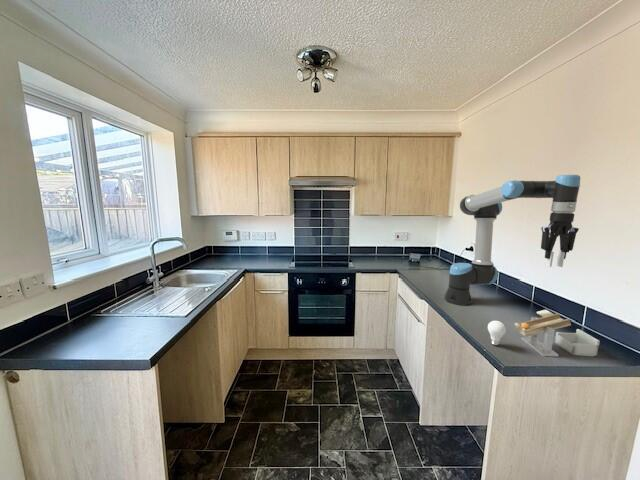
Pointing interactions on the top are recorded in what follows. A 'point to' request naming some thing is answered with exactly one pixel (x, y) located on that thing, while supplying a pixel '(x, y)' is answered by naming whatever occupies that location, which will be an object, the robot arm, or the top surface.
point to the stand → (546, 346)
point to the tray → (577, 343)
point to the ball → (525, 326)
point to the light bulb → (496, 331)
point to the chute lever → (542, 323)
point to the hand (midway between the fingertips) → (553, 265)
